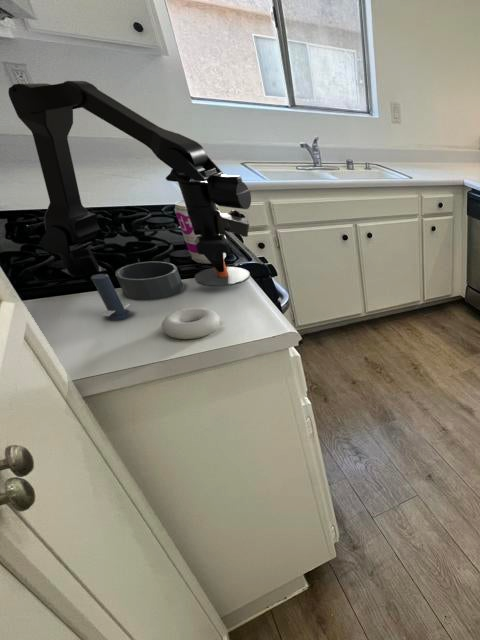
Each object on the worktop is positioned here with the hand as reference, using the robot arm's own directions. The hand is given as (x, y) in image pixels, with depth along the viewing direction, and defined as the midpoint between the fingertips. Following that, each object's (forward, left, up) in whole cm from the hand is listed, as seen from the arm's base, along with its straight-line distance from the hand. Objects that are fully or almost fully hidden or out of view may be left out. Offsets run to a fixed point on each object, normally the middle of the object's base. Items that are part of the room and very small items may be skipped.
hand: (220, 269), depth 102 cm
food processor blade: (0, -23, -4) cm, 23 cm away
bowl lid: (0, 0, -2) cm, 2 cm away
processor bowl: (-8, -12, -4) cm, 15 cm away
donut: (+16, -17, -4) cm, 24 cm away
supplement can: (-18, +7, -4) cm, 20 cm away
